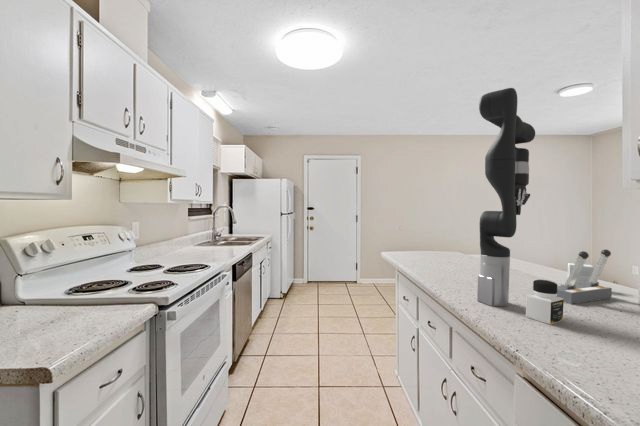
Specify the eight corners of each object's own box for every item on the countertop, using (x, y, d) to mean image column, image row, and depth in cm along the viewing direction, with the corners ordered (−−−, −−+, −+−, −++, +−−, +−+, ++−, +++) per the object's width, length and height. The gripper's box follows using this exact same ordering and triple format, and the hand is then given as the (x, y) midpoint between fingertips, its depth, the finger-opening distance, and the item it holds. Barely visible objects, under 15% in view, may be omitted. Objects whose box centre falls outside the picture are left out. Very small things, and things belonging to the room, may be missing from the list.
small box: (590, 288, 132) (591, 264, 131) (593, 291, 127) (594, 266, 127) (566, 285, 136) (567, 262, 136) (568, 288, 131) (569, 264, 131)
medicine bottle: (550, 325, 90) (552, 284, 89) (525, 317, 96) (526, 279, 96) (563, 321, 93) (564, 282, 93) (537, 313, 99) (538, 277, 99)
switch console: (571, 304, 110) (571, 288, 110) (547, 297, 117) (548, 282, 117) (611, 298, 118) (611, 283, 118) (587, 292, 125) (587, 278, 125)
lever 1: (568, 290, 114) (586, 253, 108) (561, 286, 116) (578, 250, 111) (573, 290, 115) (592, 253, 109) (566, 285, 117) (583, 249, 112)
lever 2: (592, 287, 118) (609, 251, 113) (584, 284, 121) (600, 248, 116) (597, 287, 119) (614, 251, 114) (589, 283, 122) (605, 248, 117)
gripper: (515, 170, 122) (514, 213, 121) (537, 174, 126) (536, 215, 126) (498, 173, 129) (497, 213, 128) (520, 176, 133) (518, 215, 133)
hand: (516, 214), depth 127 cm, fingers closed
